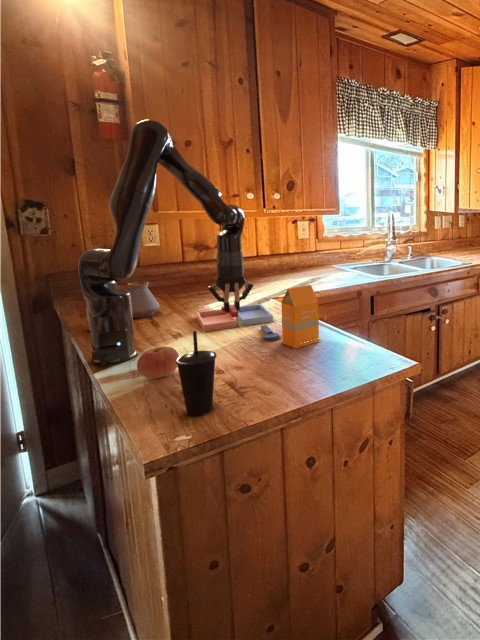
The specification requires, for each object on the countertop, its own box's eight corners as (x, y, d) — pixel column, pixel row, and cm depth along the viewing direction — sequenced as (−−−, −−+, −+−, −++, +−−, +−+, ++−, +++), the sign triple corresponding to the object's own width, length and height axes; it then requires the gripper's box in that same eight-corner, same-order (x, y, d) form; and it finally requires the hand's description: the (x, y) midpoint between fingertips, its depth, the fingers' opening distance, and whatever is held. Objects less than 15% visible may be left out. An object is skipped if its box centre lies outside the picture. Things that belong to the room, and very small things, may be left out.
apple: (182, 376, 114) (181, 349, 112) (140, 386, 107) (137, 357, 106) (176, 366, 119) (174, 340, 118) (135, 375, 113) (133, 348, 112)
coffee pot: (159, 308, 170) (156, 273, 167) (161, 315, 161) (158, 279, 159) (85, 317, 155) (81, 279, 153) (83, 325, 147) (79, 285, 145)
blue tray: (272, 321, 162) (272, 315, 162) (242, 325, 155) (242, 319, 155) (261, 309, 176) (260, 304, 176) (233, 313, 169) (232, 307, 169)
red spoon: (243, 316, 139) (243, 311, 139) (226, 318, 135) (226, 313, 135) (237, 307, 149) (236, 302, 148) (220, 309, 145) (220, 304, 145)
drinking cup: (226, 403, 101) (222, 326, 98) (204, 420, 94) (199, 337, 91) (195, 402, 101) (190, 325, 98) (170, 419, 93) (164, 336, 90)
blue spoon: (256, 331, 151) (255, 326, 151) (271, 328, 154) (271, 324, 154) (265, 341, 141) (265, 336, 141) (281, 338, 145) (281, 334, 144)
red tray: (237, 326, 154) (236, 320, 154) (203, 331, 147) (203, 325, 147) (227, 314, 168) (227, 308, 168) (196, 318, 161) (196, 312, 161)
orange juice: (319, 341, 145) (318, 286, 142) (295, 348, 137) (293, 290, 134) (306, 336, 148) (304, 283, 146) (282, 343, 141) (280, 287, 138)
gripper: (206, 266, 132) (209, 317, 134) (255, 263, 141) (257, 311, 144) (203, 262, 138) (206, 312, 140) (251, 260, 147) (253, 306, 149)
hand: (232, 311), depth 142 cm, fingers closed on red spoon, 2 cm apart
